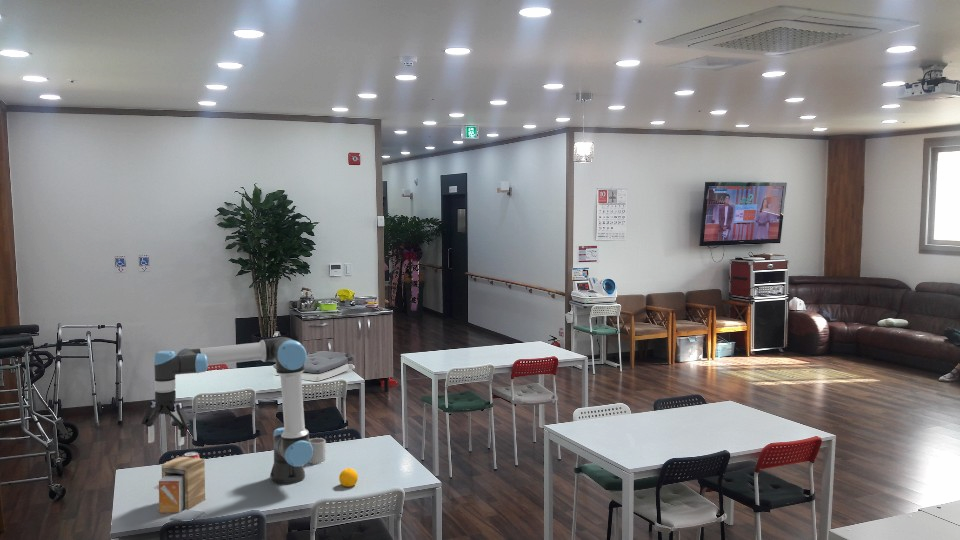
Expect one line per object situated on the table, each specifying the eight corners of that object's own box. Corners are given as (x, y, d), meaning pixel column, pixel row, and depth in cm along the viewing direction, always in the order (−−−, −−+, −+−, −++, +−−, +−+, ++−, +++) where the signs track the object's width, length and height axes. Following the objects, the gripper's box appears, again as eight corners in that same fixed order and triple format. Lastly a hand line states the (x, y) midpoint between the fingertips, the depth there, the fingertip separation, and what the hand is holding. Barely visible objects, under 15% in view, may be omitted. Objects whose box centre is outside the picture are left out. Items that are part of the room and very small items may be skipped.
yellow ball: (351, 481, 331) (350, 464, 330) (361, 485, 325) (361, 468, 325) (335, 485, 325) (335, 468, 325) (346, 490, 319) (345, 472, 319)
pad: (204, 513, 293) (204, 511, 293) (190, 522, 285) (190, 520, 285) (185, 510, 296) (184, 509, 296) (170, 519, 287) (170, 518, 287)
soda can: (194, 483, 327) (193, 456, 326) (179, 482, 328) (179, 455, 327) (203, 478, 334) (202, 451, 333) (189, 477, 335) (188, 450, 334)
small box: (158, 513, 293) (158, 480, 292) (164, 507, 299) (164, 475, 299) (179, 512, 294) (179, 480, 293) (185, 506, 300) (184, 475, 299)
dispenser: (205, 499, 308) (204, 458, 306) (187, 510, 296) (186, 467, 295) (180, 497, 311) (179, 456, 309) (161, 507, 299) (160, 465, 298)
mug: (327, 462, 356) (327, 441, 355) (309, 465, 352) (309, 444, 352) (321, 455, 367) (320, 435, 366) (303, 457, 363) (303, 437, 363)
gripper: (198, 390, 294) (199, 443, 295) (144, 386, 300) (145, 438, 301) (187, 394, 286) (187, 448, 288) (131, 390, 292) (132, 443, 294)
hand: (166, 443), depth 294 cm, fingers open, 13 cm apart
